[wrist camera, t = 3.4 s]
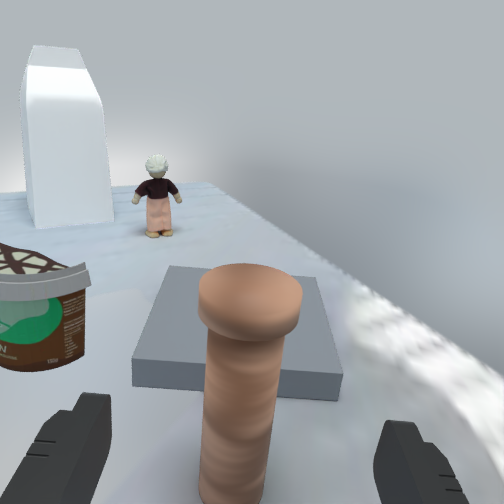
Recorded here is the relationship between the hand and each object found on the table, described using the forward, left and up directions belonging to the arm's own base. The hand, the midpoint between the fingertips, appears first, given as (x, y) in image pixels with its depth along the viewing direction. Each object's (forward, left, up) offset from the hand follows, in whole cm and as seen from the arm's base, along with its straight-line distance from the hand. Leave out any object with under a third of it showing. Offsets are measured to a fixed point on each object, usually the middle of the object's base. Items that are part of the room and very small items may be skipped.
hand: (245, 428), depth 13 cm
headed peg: (0, -11, -17) cm, 20 cm away
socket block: (0, -29, -17) cm, 34 cm away
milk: (+30, -61, -17) cm, 70 cm away
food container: (+20, -23, -17) cm, 35 cm away
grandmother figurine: (+14, -55, -17) cm, 59 cm away
